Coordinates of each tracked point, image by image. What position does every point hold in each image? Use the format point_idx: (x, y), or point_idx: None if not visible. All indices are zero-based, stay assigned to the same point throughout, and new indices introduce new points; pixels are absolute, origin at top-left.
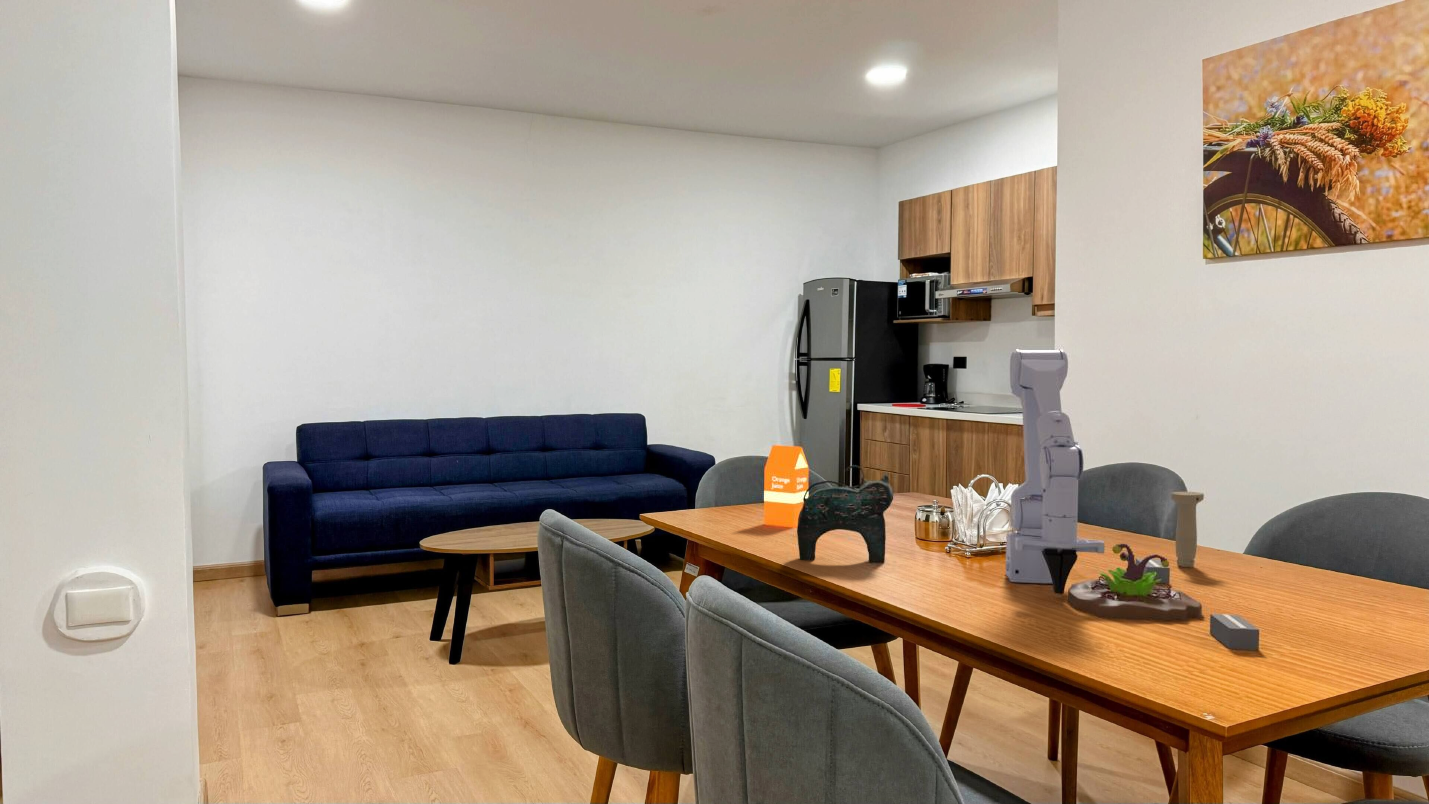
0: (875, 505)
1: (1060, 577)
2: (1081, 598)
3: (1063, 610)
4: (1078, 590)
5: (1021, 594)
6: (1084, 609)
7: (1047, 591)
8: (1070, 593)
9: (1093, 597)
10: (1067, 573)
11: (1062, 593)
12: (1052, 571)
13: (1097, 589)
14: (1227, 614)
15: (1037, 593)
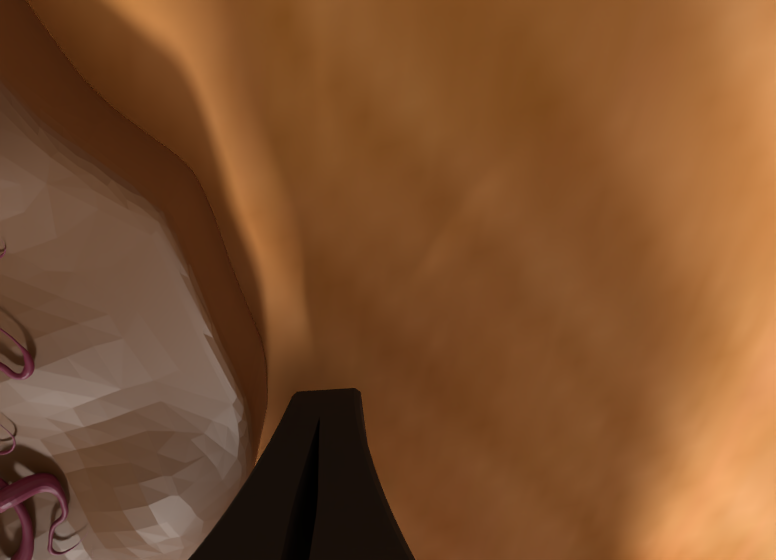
0: None
1: (306, 516)
2: (116, 194)
3: (311, 82)
4: (165, 427)
5: (571, 463)
6: (117, 117)
7: None
8: (233, 368)
9: (2, 243)
10: (225, 532)
11: (301, 393)
12: (394, 538)
13: (7, 458)
14: None
15: (457, 503)
